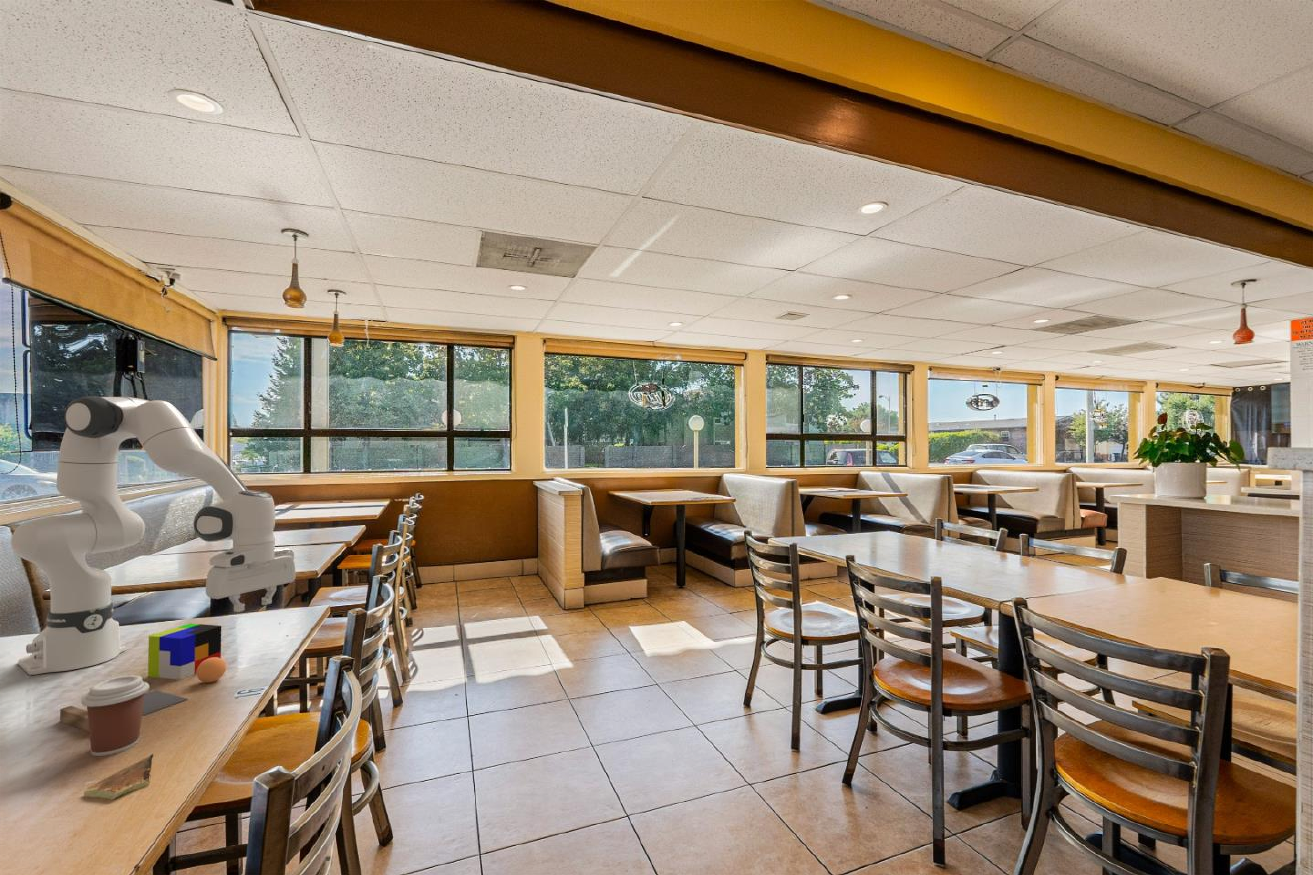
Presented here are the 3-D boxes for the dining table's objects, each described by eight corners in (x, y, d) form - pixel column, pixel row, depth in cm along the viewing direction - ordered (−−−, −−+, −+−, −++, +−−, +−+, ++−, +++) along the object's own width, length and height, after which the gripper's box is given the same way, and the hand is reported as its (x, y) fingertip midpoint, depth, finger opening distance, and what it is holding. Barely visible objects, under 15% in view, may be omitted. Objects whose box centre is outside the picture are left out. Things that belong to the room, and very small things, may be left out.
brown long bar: (60, 721, 113) (60, 709, 113) (70, 717, 115) (70, 705, 115) (97, 734, 108) (97, 721, 108) (108, 730, 110) (108, 717, 110)
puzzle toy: (180, 680, 134) (181, 638, 134) (148, 676, 136) (148, 635, 136) (220, 664, 144) (221, 625, 144) (189, 661, 146) (190, 623, 146)
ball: (190, 684, 131) (190, 660, 131) (216, 675, 137) (217, 652, 137) (205, 687, 129) (205, 663, 129) (231, 678, 134) (231, 655, 135)
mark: (87, 713, 117) (87, 712, 117) (156, 690, 128) (156, 689, 128) (119, 724, 112) (119, 723, 112) (187, 699, 123) (187, 698, 123)
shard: (152, 762, 100) (152, 751, 100) (188, 765, 98) (188, 755, 98) (81, 799, 89) (81, 788, 89) (120, 804, 88) (121, 792, 88)
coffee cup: (149, 729, 110) (150, 668, 110) (147, 747, 103) (148, 683, 104) (83, 745, 104) (84, 681, 104) (77, 766, 97) (78, 697, 98)
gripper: (285, 546, 153) (285, 596, 153) (202, 560, 134) (201, 617, 134) (301, 547, 151) (300, 598, 150) (218, 562, 132) (217, 620, 131)
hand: (253, 607), depth 142 cm, fingers open, 5 cm apart
